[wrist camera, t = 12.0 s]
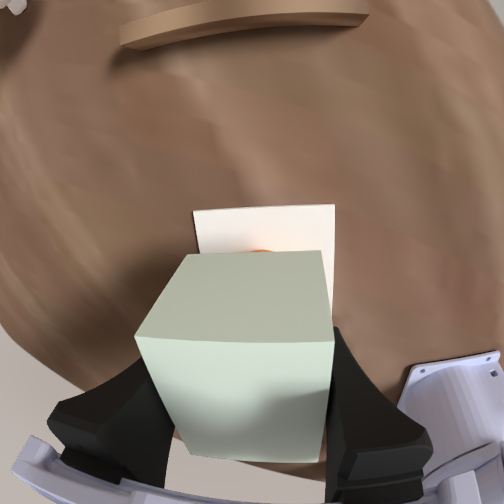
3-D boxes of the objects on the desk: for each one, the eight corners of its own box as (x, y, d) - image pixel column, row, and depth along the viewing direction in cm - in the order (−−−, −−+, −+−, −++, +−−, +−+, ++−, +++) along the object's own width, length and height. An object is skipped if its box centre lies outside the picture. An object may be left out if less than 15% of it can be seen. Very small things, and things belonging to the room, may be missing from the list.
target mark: (334, 203, 17) (334, 205, 16) (330, 320, 20) (331, 321, 20) (193, 210, 18) (193, 211, 18) (214, 320, 21) (213, 322, 21)
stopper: (356, 7, 12) (365, -7, 9) (359, 26, 12) (369, 14, 10) (139, 33, 13) (119, 25, 11) (140, 51, 14) (119, 45, 12)
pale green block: (321, 250, 13) (334, 341, 8) (316, 374, 16) (317, 462, 11) (187, 254, 14) (133, 336, 9) (214, 372, 17) (190, 454, 12)
